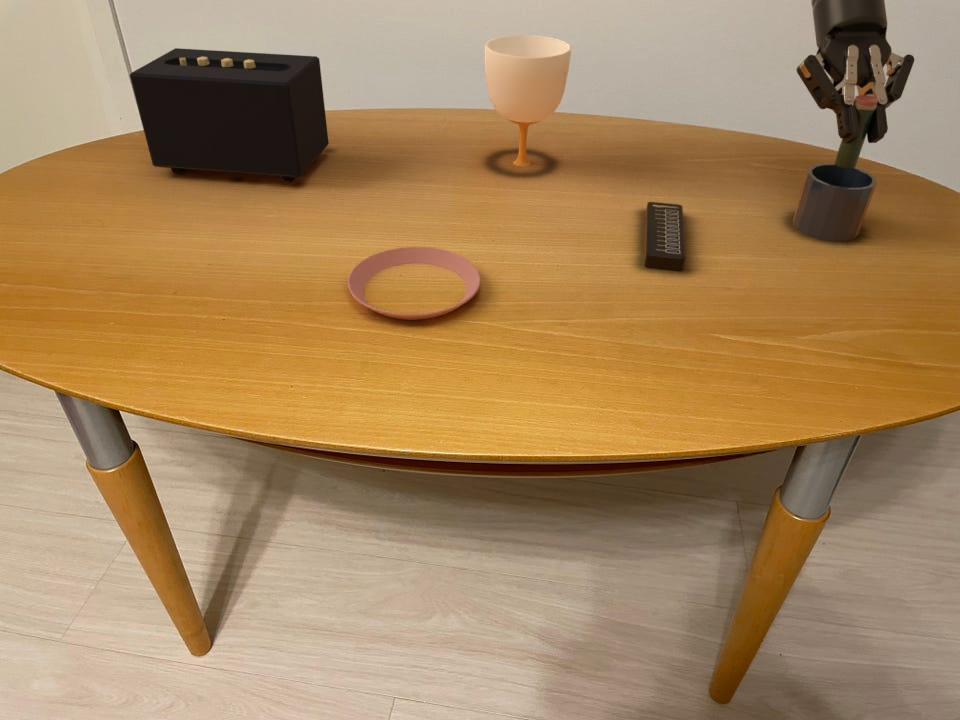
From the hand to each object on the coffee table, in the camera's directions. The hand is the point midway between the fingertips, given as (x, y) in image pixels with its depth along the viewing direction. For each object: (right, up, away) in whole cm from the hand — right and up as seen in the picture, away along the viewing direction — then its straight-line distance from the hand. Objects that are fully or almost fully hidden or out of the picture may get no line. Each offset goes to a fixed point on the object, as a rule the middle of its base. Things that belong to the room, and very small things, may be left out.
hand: (864, 139), depth 85 cm
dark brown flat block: (-22, -11, +6) cm, 25 cm away
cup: (-38, +3, +24) cm, 45 cm away
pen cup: (0, -9, +9) cm, 13 cm away
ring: (-51, -18, -4) cm, 55 cm away
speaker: (-79, +3, +23) cm, 82 cm away
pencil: (0, -2, +4) cm, 4 cm away
